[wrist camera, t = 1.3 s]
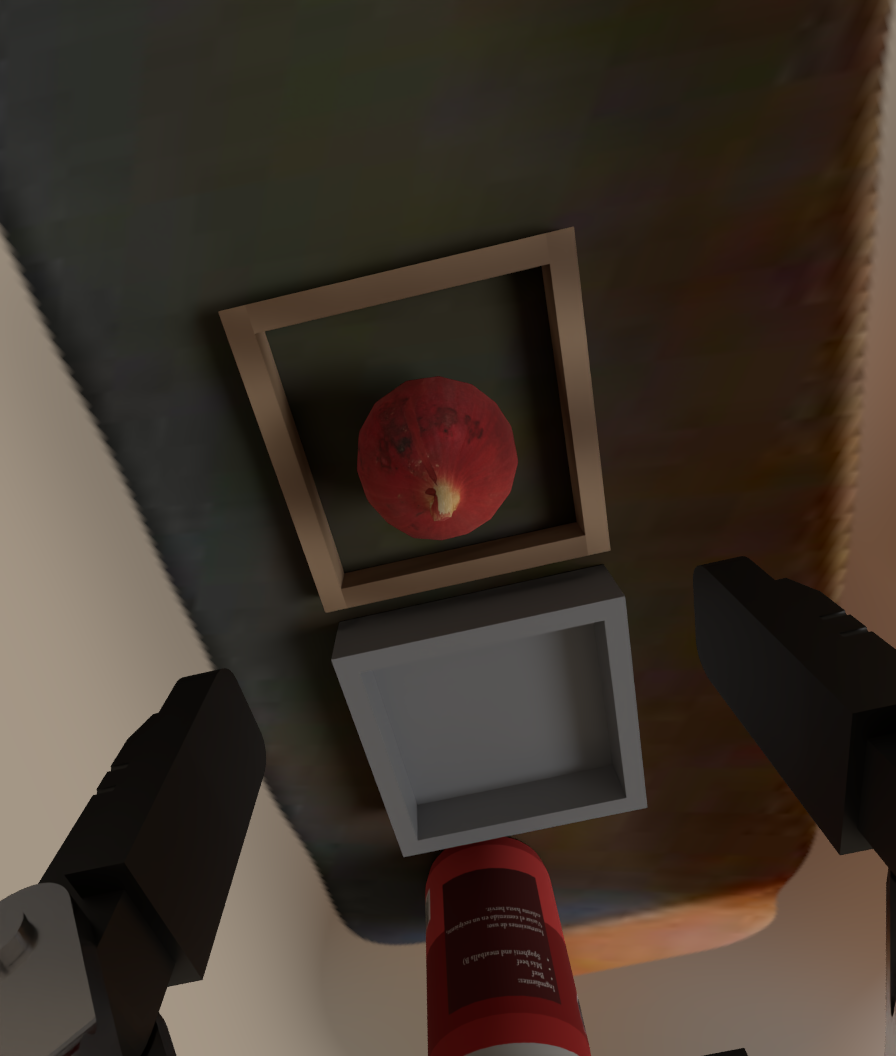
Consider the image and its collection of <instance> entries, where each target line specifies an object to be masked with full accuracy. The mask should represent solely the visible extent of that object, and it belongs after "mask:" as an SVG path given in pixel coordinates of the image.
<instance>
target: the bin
mask: <svg viewBox="0 0 896 1056" xmlns="http://www.w3.org/2000/svg"><path fill="white" fill-rule="evenodd" d="M331 661H332V663H333V666H334V669H335V672H336V674H337V677H338V680H339V682H340V685H341V688H342V691H343V693H344V696H345V699H346V702H347V704H348V707H349V710H350V712H351V715H352V718H353V721H354V723H355V726H356V729H357V732H358V734H359V737H360V740H361V742H362V745H363V748H364V751H365V753H366V756H367V759H368V761H369V764H370V767H371V770H372V772H373V775H374V778H375V781H376V783H377V786H378V789H379V791H380V794H381V797H382V800H383V802H384V805H385V808H386V811H387V813H388V816H389V819H390V821H391V824H392V827H393V830H394V832H395V835H396V838H397V841H398V843H399V846H400V849H401V851H402V854H403V857H407V856H412V855H417V854H422V853H427V852H432V851H437V850H442V849H446V848H451V847H456V846H461V845H466V844H471V843H476V842H481V841H486V840H491V839H496V838H500V837H505V836H510V835H515V834H520V833H525V832H530V831H535V830H540V829H545V828H549V827H554V826H559V825H564V824H569V823H574V822H579V821H584V820H589V819H594V818H598V817H603V816H608V815H613V814H618V813H623V812H628V811H633V810H638V809H643V808H647V800H646V791H645V781H644V772H643V763H642V753H641V744H640V734H639V725H638V715H637V706H636V696H635V687H634V677H633V668H632V658H631V649H630V639H629V630H628V620H627V611H626V601H625V596H624V594H623V593H622V591H621V590H620V588H619V587H618V585H617V584H616V582H615V581H614V579H613V578H612V576H611V575H610V573H609V572H608V570H607V569H606V567H605V566H604V564H603V565H598V566H594V567H589V568H585V569H580V570H575V571H571V572H566V573H562V574H557V575H553V576H548V577H543V578H539V579H534V580H530V581H525V582H521V583H516V584H511V585H507V586H502V587H498V588H493V589H489V590H484V591H479V592H475V593H470V594H466V595H461V596H457V597H452V598H447V599H443V600H438V601H434V602H429V603H425V604H420V605H415V606H411V607H406V608H402V609H397V610H393V611H388V612H383V613H379V614H374V615H370V616H365V617H361V618H356V619H351V620H347V621H342V622H339V625H338V630H337V635H336V639H335V644H334V649H333V654H332V658H331Z"/></svg>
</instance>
